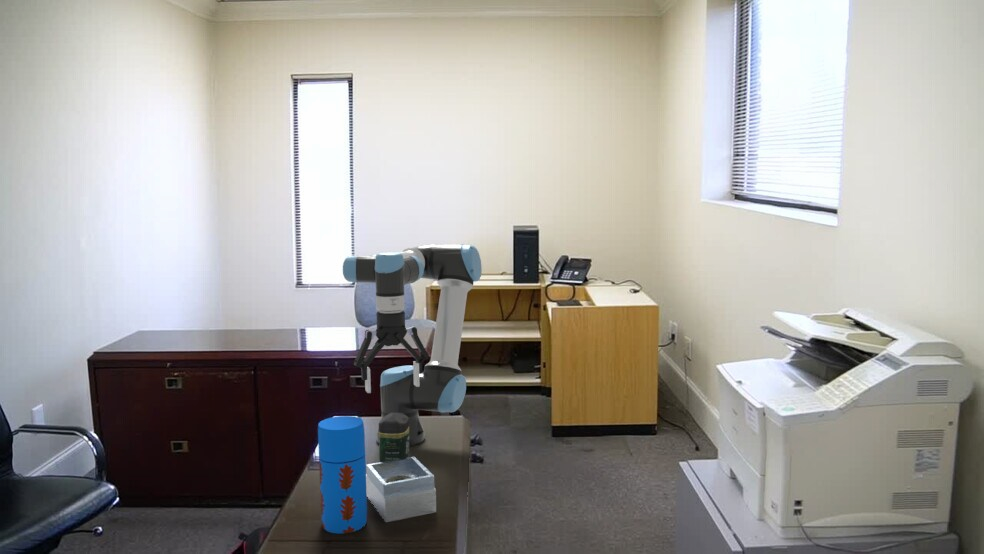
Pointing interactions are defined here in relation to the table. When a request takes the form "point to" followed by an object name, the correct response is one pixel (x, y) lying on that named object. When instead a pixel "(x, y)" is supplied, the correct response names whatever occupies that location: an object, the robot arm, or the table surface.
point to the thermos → (342, 474)
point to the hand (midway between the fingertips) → (392, 388)
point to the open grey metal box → (400, 488)
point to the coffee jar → (393, 437)
